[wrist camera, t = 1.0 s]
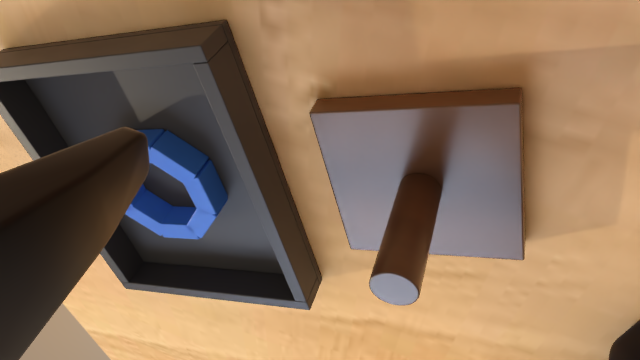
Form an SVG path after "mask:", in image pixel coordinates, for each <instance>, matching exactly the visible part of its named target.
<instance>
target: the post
mask: <svg viewBox="0 0 640 360" xmlns="http://www.w3.org/2000/svg"><path fill="white" fill-rule="evenodd" d="M310 117H311V120H312V123H313V127H314V130H315V133H316V136H317V140H318V143H319V146H320V150H321V153H322V156H323V159H324V163H325V166H326V169H327V173H328V176H329V179H330V182H331V186H332V189H333V192H334V195H335V199H336V202H337V205H338V209H339V212H340V215H341V218H342V222H343V225H344V228H345V232H346V235H347V238H348V241H349V245H350V248H351V249H357V250H373V251H379V252H378V255H377V258H376V261H375V264H374V268H373V271H372V274H371V277H370V281H369V286H370V289H371V291H372V292H373V294H374V295H375V296H377V297H378V298H379V299H381V300H382V301H385V302H387V303H390V304H393V305H409V304H412V303H414V302H415V301H416V300H417V299H418V298H419V295H420V291H421V286H422V282H423V277H424V272H425V268H426V263H427V259H428V254H435V255H450V256H466V257H482V258H497V259H513V260H524V255H525V217H524V169H523V120H522V89H521V88H510V89H493V90H475V91H457V92H440V93H422V94H404V95H387V96H369V97H351V98H334V99H318V100H317V101H316V102H315V104H314V106H313V107H312V109H311V111H310Z"/></svg>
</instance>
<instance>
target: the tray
mask: <svg viewBox="0 0 640 360" xmlns="http://www.w3.org/2000/svg"><path fill="white" fill-rule="evenodd" d="M0 115H1V116H2V118H3V119H4V121H5V122H6V123H7V125H8V126H9V128H10V129H11V130H12V132H13V133H14V134H15V136H16V137H17V139H18V140H19V141H20V143H21V144H22V146H23V147H24V148H25V150H26V151H27V153H28V154H29V155H30V157H31V158H32V159H33V161H34V160H37V159H39V158H42V157H45V156H47V155H50V154H52V153H55V152H58V151H60V150H63V149H66V148H68V147H71V146H74V145H76V144H79V143H81V142H84V141H87V140H89V139H92V138H95V137H97V136H100V135H102V134H105V133H108V132H110V131H113V130H116V129H118V128H121V127H128V128H131V129H134V130H149V129H164V131H166V130H168V131H170V132H171V133H173V134H174V135H176V136H178V137H179V138H181V139H182V140H184V141H185V142H187V143H188V144H190V145H191V146H193V147H194V148H196V149H197V150H199V151H201V152H202V153H204V154H205V155H207V156H208V157H209V159H208V160H211V161H212V163H213V165H214V167H215V169H216V171H217V173H218V175H219V178H220V180H221V182H222V184H223V186H224V188H225V191H226V193H227V195H228V197H227V198H228V200H227V202H226V203H225V205H224V206H223V208H222V210H221V211H220V213H219V214H218V216H217V217H216V219H215V220H214V222H213V223H212V224H211V226H210V227H209V229H208V230H207V232H206V233H205V235H204V236H203V237H202V238H200V239H184V238H168V237H163V235H161V236H160V235H158V234H156V233H155V232H153V231H151V230H150V229H148V228H147V227H145V226H143V225H142V224H140V223H139V222H137V221H135V220H134V219H132V218H130V217H129V216H127V215H126V214H124V216H123V218H122V219H121V221H120V223H119V225H118V226H117V228H116V230H115V231H114V233H113V235H112V236H111V238H110V239H109V241H108V242H107V244H106V245H105V247H104V248H103V249H102V251H101V252H100V254H101V255H102V257H103V258H104V260H105V261H106V262H107V264H108V265H109V267H110V268H111V269H112V271H113V272H114V274H115V275H116V276H117V278H118V279H119V280H120V281H121V283H122V284H123V286H124V287H125V288H126V289H134V290H142V291H151V292H159V293H168V294H176V295H185V296H194V297H202V298H211V299H219V300H228V301H236V302H245V303H253V304H262V305H271V306H279V307H288V308H296V309H305V310H310V308H311V306H312V303H313V301H314V298H315V296H316V293H317V291H318V288H319V285H320V284H321V281H322V277H321V274H320V272H319V269H318V266H317V264H316V261H315V258H314V255H313V253H312V250H311V247H310V245H309V242H308V239H307V236H306V234H305V231H304V228H303V226H302V223H301V220H300V218H299V215H298V212H297V209H296V207H295V204H294V201H293V199H292V196H291V193H290V190H289V188H288V185H287V182H286V180H285V177H284V174H283V172H282V169H281V166H280V163H279V161H278V158H277V155H276V153H275V150H274V147H273V144H272V142H271V139H270V136H269V134H268V131H267V128H266V126H265V123H264V120H263V117H262V115H261V112H260V109H259V107H258V104H257V101H256V99H255V96H254V93H253V90H252V88H251V85H250V82H249V80H248V77H247V74H246V71H245V69H244V66H243V63H242V61H241V58H240V55H239V53H238V50H237V47H236V44H235V42H234V39H233V36H232V34H231V31H230V28H229V25H228V23H227V21H226V20H223V21H215V22H208V23H200V24H192V25H185V26H177V27H169V28H162V29H154V30H147V31H139V32H131V33H124V34H116V35H109V36H101V37H93V38H86V39H78V40H71V41H63V42H55V43H48V44H40V45H32V46H25V47H17V48H10V49H3V50H2V51H0ZM143 184H144V186H145V188H146V189H147V190H148V191H150V192H151V193H153V194H155V195H156V196H158V197H159V198H161V199H163V200H164V201H166V202H167V203H169V204H170V205H172V206H176V207H196V206H195V205H194V203H193V201H192V199H191V197H190V195H189V193H188V191H187V189H186V187H185V185H184V184H183V183H182V182H181V181H179V180H177V179H176V178H174V177H173V176H171V175H170V174H168V173H166V172H165V171H163V170H162V169H160V168H159V167H157V166H155V165H154V164H152V163H149V172H148V175H147V177H146V179H145V181H144V182H143Z"/></svg>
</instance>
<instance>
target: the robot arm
mask: <svg viewBox="0 0 640 360" xmlns="http://www.w3.org/2000/svg"><path fill="white" fill-rule="evenodd" d="M148 172H149V152H148V140H147V137H146V135H145V134H144V133H142V132H139V131H137V130H134V129H131V128H128V127H121V128H118V129H116V130H113V131H110V132H108V133H105V134H102V135H100V136H97V137H95V138H92V139H89V140H87V141H84V142H81V143H79V144H76V145H74V146H71V147H68V148H66V149H63V150H60V151H58V152H55V153H52V154H50V155H47V156H45V157H42V158H39V159H37V160H34V161H31V162H29V163H26V164H24V165H21V166H18V167H16V168H13V169H10V170H8V171H5V172H2V173H0V360H19V359H20V358H21V356H22V355H23V354H24V352H25V351H26V350H27V348H28V347H29V346H30V344H31V343H32V342H33V341H34V339H35V338H36V337H37V335H38V334H39V333H40V331H41V330H42V329H43V327H44V326H45V325H46V323H47V322H48V321H49V319H50V318H51V317H52V315H53V314H54V313H55V311H56V310H57V309H58V307H59V306H60V305H61V304H62V302H63V301H64V300H65V298H66V297H67V296H68V294H69V293H70V292H71V291H72V289H73V288H74V287H75V285H76V284H77V283H78V281H79V280H80V279H81V277H82V276H83V275H84V273H85V272H86V271H87V269H88V268H89V267H90V265H91V264H92V263H93V262H94V260H95V259H96V258H97V256H98V255H99V254H100V252H101V251H102V249H103V248H104V247H105V245H106V244H107V242H108V241H109V239H110V238H111V236H112V235H113V233H114V231H115V230H116V228H117V226H118V225H119V223H120V221H121V219H122V218H123V216H124V214H125V213H126V211H127V209H128V208H129V206H130V204H131V203H132V201H133V199H134V197H135V196H136V194H137V192H138V191H139V189H140V187H141V186H142V184H143V182H144V181H145V179H146V177H147V175H148ZM609 360H640V321H638V322H637V323H636V324H634V325H633V326H632V327H631V328H630V329H629V330H627V331H626V332H625V333H624V334H623V335H621V336H620V337H619V338H618V339H617V340H616V341H615V342H614V343H613V345H612V347H611V350H610V354H609Z"/></svg>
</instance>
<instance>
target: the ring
mask: <svg viewBox="0 0 640 360" xmlns="http://www.w3.org/2000/svg"><path fill="white" fill-rule="evenodd" d="M137 131H139V132H142V133H144V134H145V135H146V137H147V140H148V152H149V163H152V164H154V165H155V166H157V167H159V168H160V169H162V170H163V171H165V172H166V173H168V174H170V175H171V176H173V177H174V178H176V179H177V180H179V181H181V182H182V183H183V184H184V185H185V187H186V189H187V191H188V193H189V195H190V197H191V199H192V201H193V203H194V205H195V206H196V207H176V206H172V205H170V204H169V203H167V202H166V201H164V200H163V199H161V198H159V197H158V196H156V195H155V194H153V193H151V192H150V191H148V190H147V189H146V188H145V186H144V184H142V186H141V187H140V189H139V191H138V192H137V194H136V196H135V197H134V199H133V201H132V203H131V204H130V206H129V208H128V209H127V211H126V213H125V214H126V215H127V216H129V217H130V218H132V219H134V220H135V221H137V222H139V223H140V224H142V225H143V226H145V227H147V228H148V229H150V230H151V231H153V232H155V233H156V234H158V235H160V236H161V235H163V237H168V238H184V239H200V238H202V237H203V236H204V235H205V233H206V232H207V230H208V229H209V227H210V226H211V224H212V223H213V222H214V220H215V219H216V217H217V216H218V214H219V213H220V211H221V210H222V208H223V206H224V205H225V203H226V202H227V200H228V198H227V197H228V195H227V193H226V191H225V188H224V186H223V184H222V182H221V180H220V178H219V175H218V173H217V171H216V169H215V167H214V165H213V163H212V161H211V160H208V159H209V157H208V156H207V155H205V154H204V153H202V152H201V151H199V150H197V149H196V148H194V147H193V146H191V145H190V144H188V143H187V142H185V141H184V140H182V139H181V138H179V137H178V136H176V135H174V134H173V133H171V132H170V131H168V130H166V131H164V129H149V130H137Z"/></svg>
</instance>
